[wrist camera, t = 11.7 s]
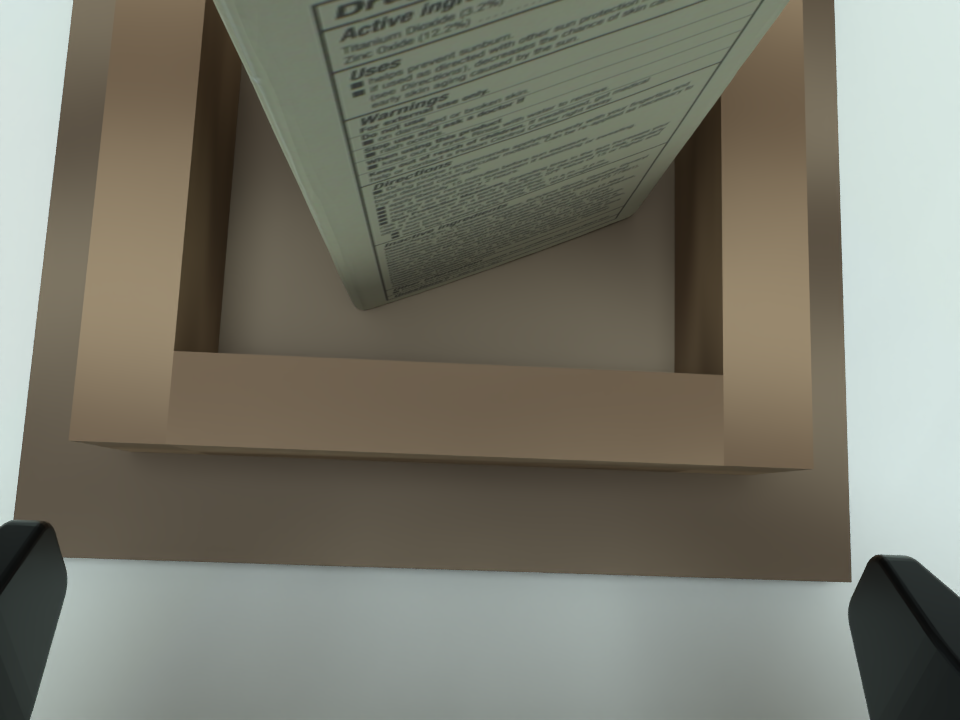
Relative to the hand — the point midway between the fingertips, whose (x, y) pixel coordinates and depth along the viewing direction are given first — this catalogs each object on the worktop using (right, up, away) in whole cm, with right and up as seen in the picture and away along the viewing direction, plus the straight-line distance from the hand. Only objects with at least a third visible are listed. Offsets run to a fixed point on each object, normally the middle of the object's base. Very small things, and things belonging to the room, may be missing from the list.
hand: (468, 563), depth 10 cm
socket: (0, +6, +9) cm, 11 cm away
